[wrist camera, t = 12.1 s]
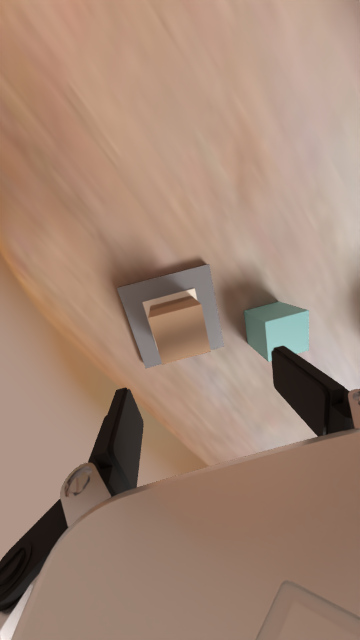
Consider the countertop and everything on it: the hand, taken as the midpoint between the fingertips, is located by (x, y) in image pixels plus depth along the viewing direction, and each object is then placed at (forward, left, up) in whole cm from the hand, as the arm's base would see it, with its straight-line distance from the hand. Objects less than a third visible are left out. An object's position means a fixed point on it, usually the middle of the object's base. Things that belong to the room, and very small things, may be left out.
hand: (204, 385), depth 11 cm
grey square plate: (0, -1, -17) cm, 17 cm away
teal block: (+5, +13, -17) cm, 22 cm away
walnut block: (0, 0, -15) cm, 15 cm away
